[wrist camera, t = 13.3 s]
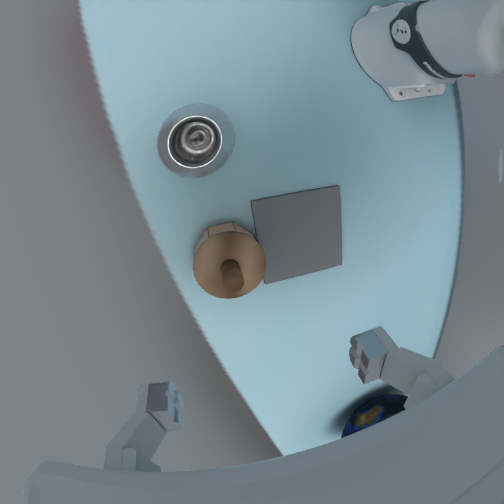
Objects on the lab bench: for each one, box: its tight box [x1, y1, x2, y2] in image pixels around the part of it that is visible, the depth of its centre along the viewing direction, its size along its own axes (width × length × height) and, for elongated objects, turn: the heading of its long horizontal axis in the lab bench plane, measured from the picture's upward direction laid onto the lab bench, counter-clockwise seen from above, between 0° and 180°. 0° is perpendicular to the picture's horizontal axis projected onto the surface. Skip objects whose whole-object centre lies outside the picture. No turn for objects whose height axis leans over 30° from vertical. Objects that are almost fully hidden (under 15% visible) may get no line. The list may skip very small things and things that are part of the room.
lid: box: [193, 231, 266, 298], centre depth 36 cm, size 10×10×5 cm
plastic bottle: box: [157, 104, 234, 178], centre depth 25 cm, size 6×7×20 cm
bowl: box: [194, 222, 255, 257], centre depth 40 cm, size 9×9×4 cm
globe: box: [341, 394, 408, 438], centre depth 61 cm, size 30×30×30 cm
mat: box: [251, 185, 342, 284], centre depth 42 cm, size 14×14×1 cm
